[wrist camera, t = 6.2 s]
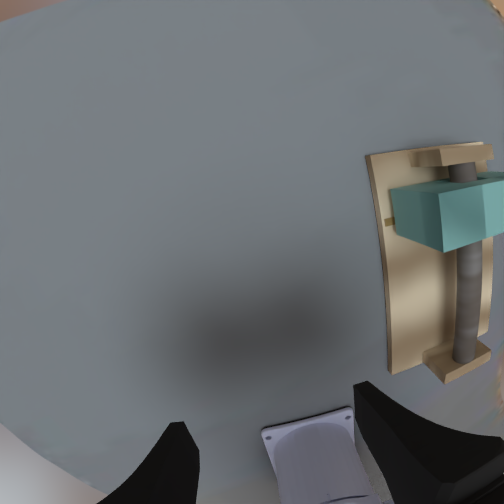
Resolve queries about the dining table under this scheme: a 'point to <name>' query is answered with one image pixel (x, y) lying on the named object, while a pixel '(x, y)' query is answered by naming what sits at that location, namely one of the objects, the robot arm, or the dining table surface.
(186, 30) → the dining table surface
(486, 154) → the pipe jig
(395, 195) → the collar
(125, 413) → the dining table surface
